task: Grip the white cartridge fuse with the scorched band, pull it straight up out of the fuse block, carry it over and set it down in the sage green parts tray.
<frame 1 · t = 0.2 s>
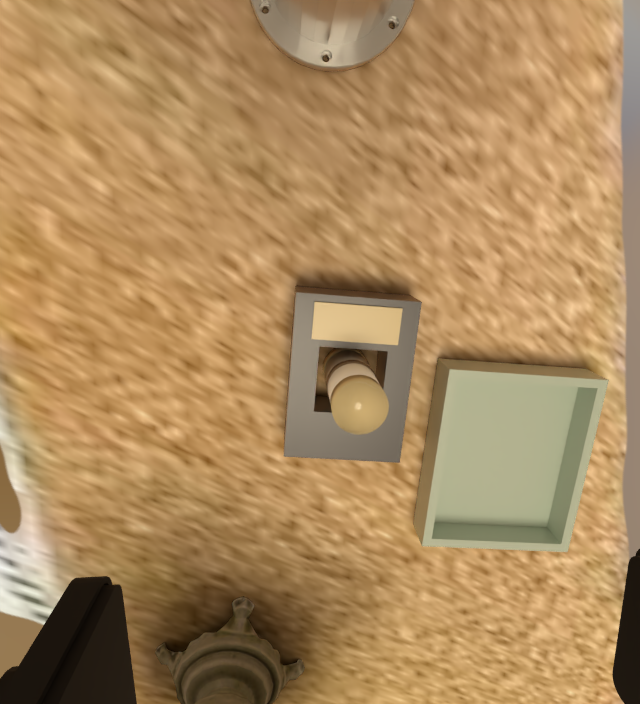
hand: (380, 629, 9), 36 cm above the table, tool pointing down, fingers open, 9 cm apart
samovar: (258, 655, 53), on the table
fuse: (351, 385, 41), in the fuse block
fuse block: (345, 368, 45), on the table
parts tray: (496, 448, 48), on the table
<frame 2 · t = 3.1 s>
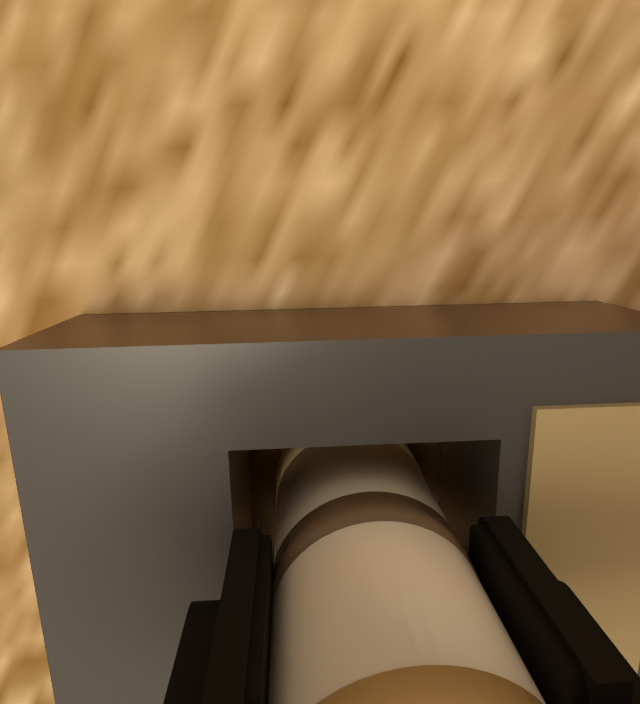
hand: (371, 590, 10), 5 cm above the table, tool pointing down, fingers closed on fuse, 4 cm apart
fuse: (373, 596, 10), in the fuse block, touching gripper
fuse block: (345, 476, 15), on the table
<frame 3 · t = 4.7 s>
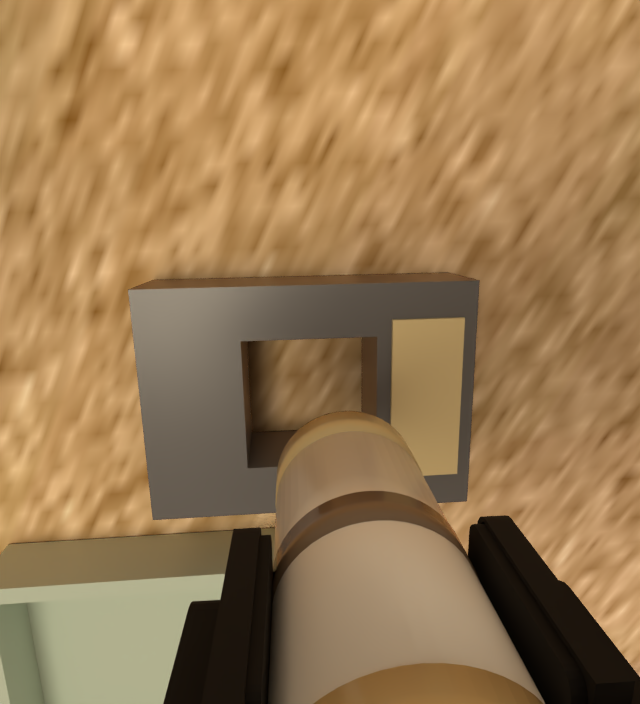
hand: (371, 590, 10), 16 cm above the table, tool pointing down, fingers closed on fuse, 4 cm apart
fuse: (373, 596, 10), point 16 cm above the table, touching gripper
fuse block: (305, 377, 25), on the table
parts tray: (187, 644, 28), on the table
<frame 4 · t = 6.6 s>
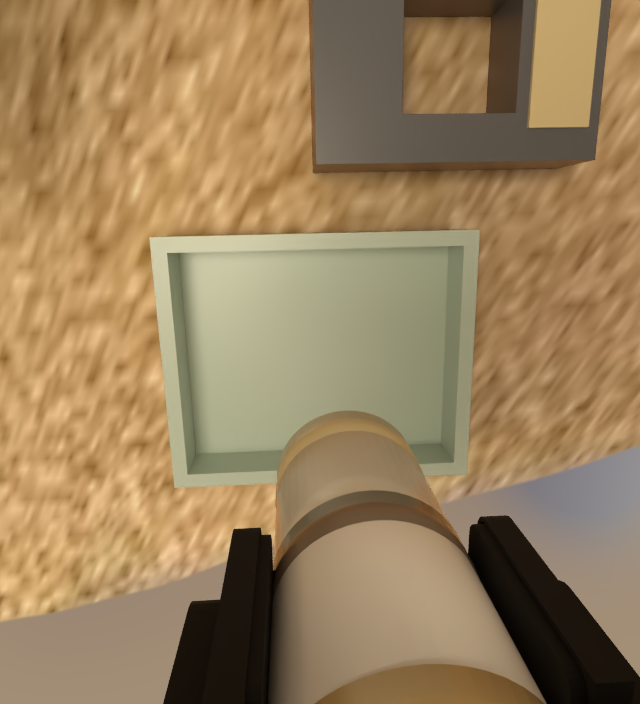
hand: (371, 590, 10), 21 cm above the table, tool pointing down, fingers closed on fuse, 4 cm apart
fuse: (373, 596, 10), point 22 cm above the table, touching gripper
fuse block: (438, 74, 28), on the table
parts tray: (317, 349, 31), on the table
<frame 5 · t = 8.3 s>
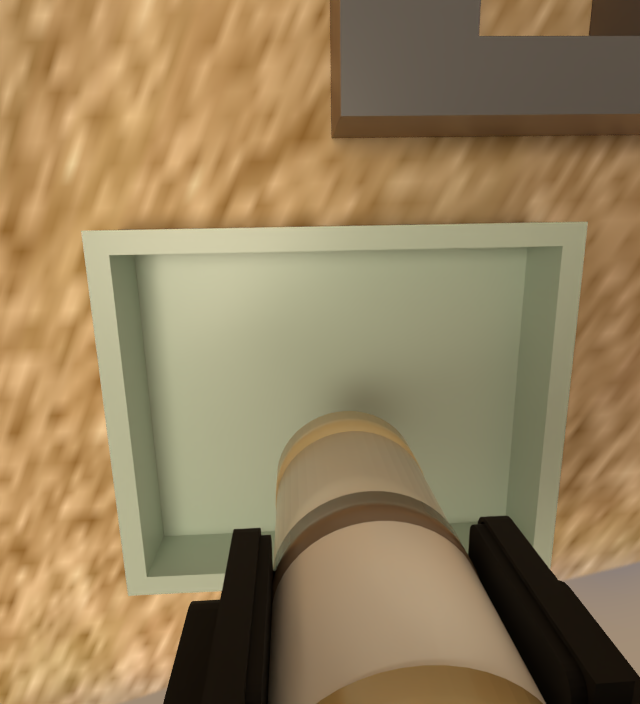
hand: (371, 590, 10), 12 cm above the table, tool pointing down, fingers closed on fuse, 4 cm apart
fuse: (373, 596, 10), point 12 cm above the table, touching gripper
parts tray: (334, 391, 22), on the table
when the fingers open (8 cm above the table, at t = 9.9 s): fuse drops 2 cm, resting on parts tray.
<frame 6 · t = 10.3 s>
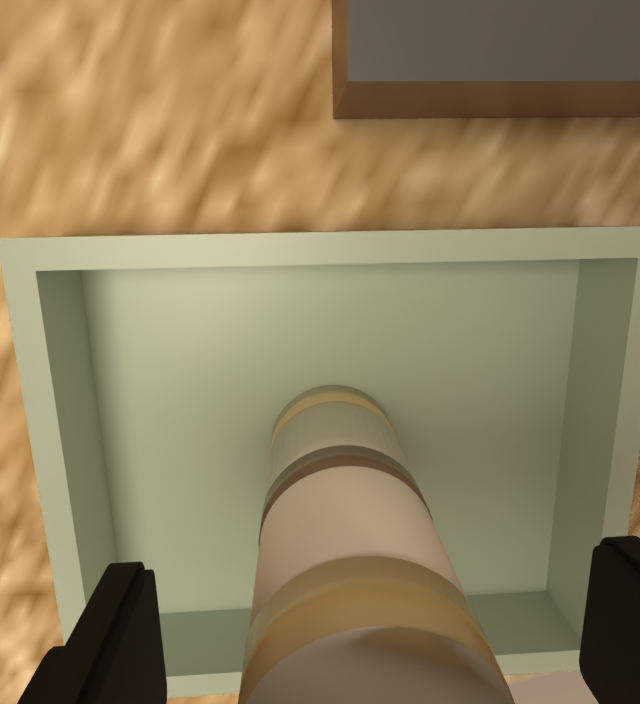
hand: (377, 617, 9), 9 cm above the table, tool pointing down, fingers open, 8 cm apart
fuse: (345, 532, 12), in the parts tray, point 6 cm above the table
parts tray: (336, 436, 18), on the table
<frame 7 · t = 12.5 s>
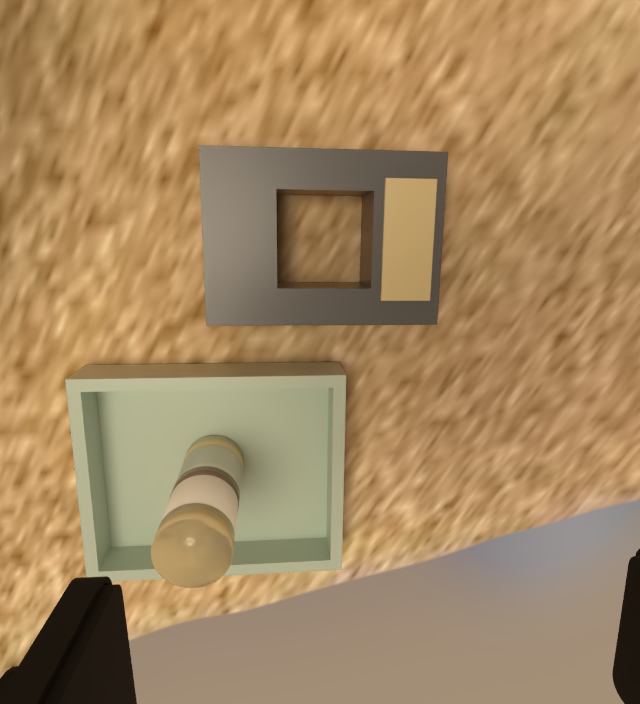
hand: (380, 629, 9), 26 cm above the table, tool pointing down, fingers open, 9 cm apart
fuse: (205, 500, 30), in the parts tray, point 6 cm above the table
fuse block: (318, 239, 33), on the table
parts tray: (219, 458, 36), on the table
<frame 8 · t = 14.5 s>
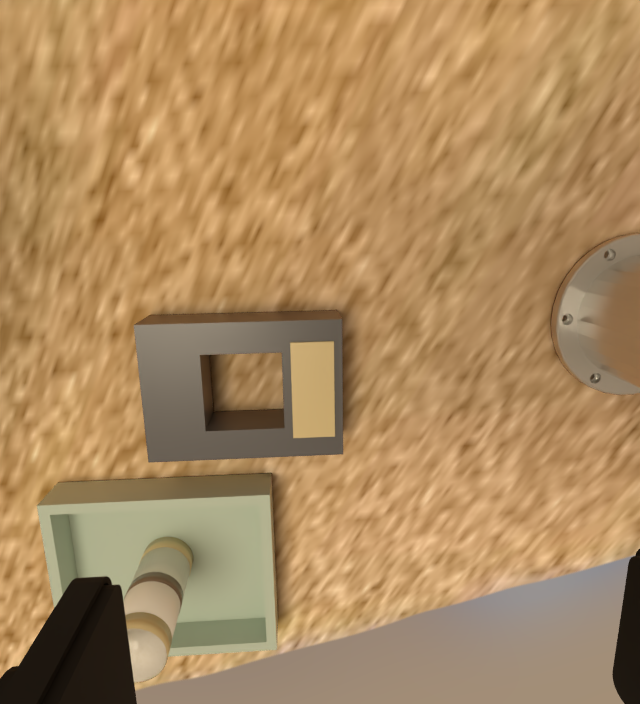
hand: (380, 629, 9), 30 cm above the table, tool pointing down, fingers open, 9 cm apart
fuse: (153, 600, 37), in the parts tray, point 6 cm above the table
fuse block: (247, 376, 39), on the table
parts tray: (173, 553, 43), on the table
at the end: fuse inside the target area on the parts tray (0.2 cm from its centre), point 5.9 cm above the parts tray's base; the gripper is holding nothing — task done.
